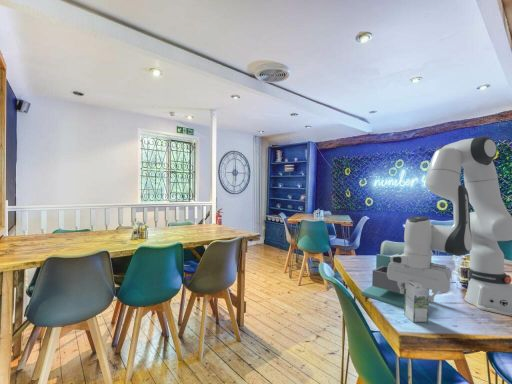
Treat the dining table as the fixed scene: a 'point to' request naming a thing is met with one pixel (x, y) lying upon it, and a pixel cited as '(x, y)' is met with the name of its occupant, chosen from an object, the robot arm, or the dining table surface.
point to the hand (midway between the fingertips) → (416, 297)
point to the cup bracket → (384, 284)
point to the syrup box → (416, 302)
